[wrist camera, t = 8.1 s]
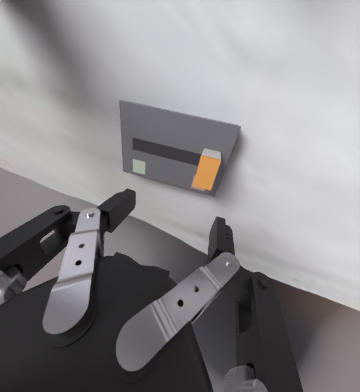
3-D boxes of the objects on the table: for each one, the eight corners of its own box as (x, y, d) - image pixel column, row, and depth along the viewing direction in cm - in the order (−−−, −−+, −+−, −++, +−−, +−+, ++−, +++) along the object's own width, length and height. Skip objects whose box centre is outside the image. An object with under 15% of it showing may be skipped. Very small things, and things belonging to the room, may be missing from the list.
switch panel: (132, 166, 36) (123, 171, 32) (131, 102, 28) (119, 100, 25) (214, 188, 33) (214, 196, 30) (238, 125, 26) (240, 126, 22)
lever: (197, 172, 28) (193, 185, 23) (204, 148, 25) (200, 156, 20) (212, 176, 27) (210, 190, 22) (220, 151, 25) (221, 161, 20)
